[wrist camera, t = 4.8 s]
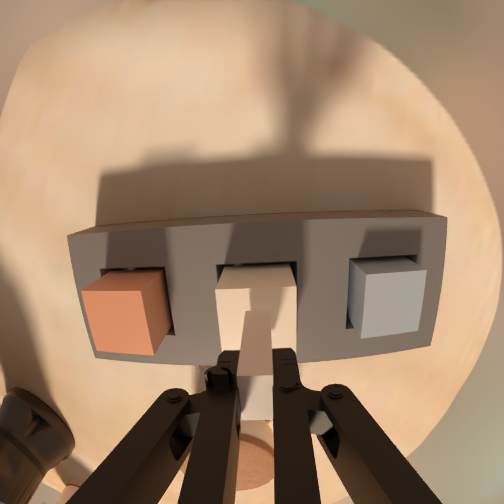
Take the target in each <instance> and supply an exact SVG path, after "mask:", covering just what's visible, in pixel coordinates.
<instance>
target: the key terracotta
mask: <svg viewBox="0 0 504 504" xmlns="http://www.w3.org/2000/svg"><path fill="white" fill-rule="evenodd" d="M81 293H82V297H83V302H84V306H85V310H86V314H87V318H88V322H89V325H90V329H91V333H92V336H93V340H94V343H95V346H96V350H97V351H104V352H114V353H125V354H139V355H155V353H156V351H157V350H158V348H159V346H160V345H161V343H162V341H163V339H164V338H165V336H166V334H167V333H168V331H169V329H170V328H171V326H172V322H171V316H170V310H169V303H168V297H167V291H166V284H165V277H164V269H155V270H122V271H110V272H108V273H107V274H105V275H104V276H102V277H101V278H99V279H98V280H96V281H95V282H93V283H92V284H90V285H89V286H87V287H86V288H84V289H83V290H81Z"/></svg>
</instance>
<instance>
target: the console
mask: <svg viewBox="0 0 504 504" xmlns="http://www.w3.org/2000/svg"><path fill="white" fill-rule="evenodd" d="M446 236H447V217H444V216H440V215H436V214H432V213H428V212H424V211H416V210H400V211H332V212H299V213H274V214H253V215H234V216H217V217H201V218H187V219H173V220H160V221H148V222H136V223H125V224H114V225H104V226H94V227H91V228H88V229H85V230H82V231H79V232H76V233H73V234H71V235H68V236H67V238H68V245H69V251H70V257H71V263H72V268H73V273H74V278H75V283H76V288H77V292H78V297H79V301H80V305H81V309H82V313H83V317H84V321H85V325H86V328H87V332H88V335H89V339H90V342H91V345H92V349H93V352H94V355H95V358H100V359H109V360H118V361H129V362H141V363H155V364H174V365H207V366H216V364H217V360H218V356H219V355H220V354H221V353H222V349H221V340H220V332H219V323H218V313H217V304H216V294H215V288H216V286H217V284H218V281H219V279H220V276H221V274H222V272H223V269H224V267H235V266H258V265H280V264H289V265H290V268H291V271H292V274H293V277H294V280H295V283H296V303H297V318H296V358H297V363H306V362H318V361H329V360H339V359H348V358H357V357H364V356H372V355H379V354H386V353H392V352H398V351H404V350H410V349H415V348H421V347H426V346H430V345H431V341H432V336H433V331H434V327H435V321H436V316H437V311H438V305H439V299H440V292H441V285H442V278H443V269H444V260H445V249H446ZM398 255H403V256H404V257H406V258H408V259H409V260H411V261H413V262H414V263H416V264H418V265H419V266H421V267H423V268H424V269H426V270H427V272H426V281H425V289H424V297H423V304H422V310H421V316H420V322H419V328H418V331H413V332H406V333H400V334H393V335H386V336H378V337H370V338H362V339H361V338H360V337H359V335H358V333H357V332H356V330H355V328H354V326H353V325H352V323H351V321H350V320H349V318H348V316H347V300H348V280H349V258H363V257H381V256H398ZM155 269H164V277H165V284H166V291H167V297H168V303H169V310H170V316H171V322H172V326H171V328H170V329H169V331H168V333H167V334H166V336H165V338H164V339H163V341H162V343H161V345H160V346H159V348H158V350H157V351H156V353H155V355H139V354H125V353H114V352H104V351H97V350H96V346H95V343H94V340H93V336H92V333H91V329H90V325H89V322H88V318H87V314H86V310H85V306H84V302H83V297H82V293H81V290H83V289H84V288H86V287H87V286H89V285H90V284H92V283H93V282H95V281H96V280H98V279H99V278H101V277H102V276H104V275H105V274H107V273H108V272H110V271H122V270H155Z"/></svg>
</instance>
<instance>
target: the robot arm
mask: <svg viewBox="0 0 504 504" xmlns="http://www.w3.org/2000/svg"><path fill="white" fill-rule="evenodd" d="M204 377H205V383H206V388H207V389H206V391H204V392H202V393H198V394H193V395H189V394H188V392H187V391H186V390H183V389H180V388H173V389H169V390H166V391H164V392H163V393H162V394H161V395H160V396H159V397H158V398H157V400H156V401H155V402H154V403H153V404H152V405H151V407H150V408H149V409H148V410H147V411H146V412H145V414H144V415H143V416H142V417H141V418H140V419H139V421H138V422H137V423H136V424H135V425H134V426H133V428H132V429H131V430H130V431H129V432H128V433H127V435H126V436H125V437H124V438H123V439H122V440H121V441H120V443H119V444H118V445H117V446H116V447H115V448H114V449H113V451H112V452H111V453H110V454H109V455H108V456H107V457H106V459H105V460H104V461H103V462H102V463H101V464H100V465H99V466H98V468H97V469H96V470H95V471H94V472H93V473H92V474H91V475H90V477H89V478H88V479H87V480H86V481H85V482H84V483H83V484H82V485H81V487H80V488H79V489H78V490H77V491H76V492H75V493H74V494H73V495H72V497H71V498H70V499H69V500H68V501H67V502H66V503H65V504H158V502H159V501H160V499H161V498H162V496H163V495H164V493H165V492H166V490H167V488H168V487H169V485H170V484H171V482H172V481H173V479H174V477H175V476H176V474H177V473H178V471H179V469H180V468H181V466H182V465H183V463H184V461H185V460H186V458H187V456H188V455H189V453H190V455H189V459H188V463H187V467H186V472H185V476H184V480H183V484H182V488H181V492H180V496H179V500H178V504H234V503H235V492H236V481H237V470H238V459H239V448H240V436H241V422H240V420H273V437H274V498H275V504H321V499H320V492H319V485H318V478H317V471H316V464H315V457H314V451H313V444H312V438H311V433H312V434H316V435H317V438H318V440H319V442H320V444H321V445H322V447H323V449H324V451H325V453H326V455H327V456H328V458H329V460H330V462H331V464H332V465H333V467H334V469H335V471H336V472H337V474H338V476H339V478H340V480H341V481H342V483H343V485H344V487H345V488H346V490H347V492H348V494H349V495H350V497H351V499H352V501H353V502H354V504H442V503H441V501H440V500H439V499H438V498H437V496H436V495H435V494H434V493H433V492H432V491H431V489H430V488H429V487H428V485H427V484H426V483H425V482H424V481H423V479H422V478H421V477H420V476H419V475H418V473H417V472H416V471H415V469H414V468H413V467H412V466H411V465H410V463H409V462H408V461H407V460H406V458H405V457H404V456H403V455H402V453H401V452H400V451H399V450H398V449H397V447H396V446H395V445H394V444H393V442H392V441H391V440H390V439H389V437H388V436H387V435H386V434H385V432H384V431H383V430H382V429H381V427H380V426H379V425H378V424H377V422H376V421H375V420H374V419H373V417H372V416H371V415H370V414H369V412H368V411H367V410H366V409H365V407H364V406H363V405H362V404H361V402H360V401H359V400H358V399H357V397H356V396H355V395H354V394H353V392H352V391H351V390H350V389H349V388H348V387H347V386H344V385H341V384H331V385H328V386H325V387H324V388H323V389H322V390H321V391H314V390H310V389H308V388H306V387H304V386H303V385H302V383H301V381H300V375H299V369H298V364H297V358H296V352H295V351H294V350H293V349H292V348H272V338H271V317H270V310H259V311H245V317H244V325H243V332H242V339H241V347H240V350H224V351H223V352H222V353H221V354H220V355H219V356H218V360H217V364H216V366H214V367H211V368H209V369H208V370H206V372H205V373H204ZM74 447H75V442H74V439H73V436H72V434H71V433H70V431H69V429H68V428H67V426H66V425H65V424H64V423H63V421H62V420H61V419H60V418H59V417H58V416H57V415H56V414H55V412H53V411H52V410H51V409H50V408H49V407H48V406H47V405H46V404H45V403H43V402H42V401H41V400H40V399H38V398H37V397H35V396H34V395H32V394H31V393H29V392H27V391H25V390H22V389H18V388H14V389H12V390H10V391H9V392H8V393H7V394H6V395H5V397H4V398H3V402H2V405H1V407H0V504H28V503H29V501H30V499H31V498H32V496H33V494H34V493H35V491H36V489H37V488H38V486H39V484H40V483H41V481H42V479H43V478H44V476H45V474H46V473H47V472H48V471H49V470H50V469H52V468H53V467H55V466H56V465H57V464H58V463H59V462H61V460H65V459H67V458H68V457H69V456H70V454H71V453H72V451H73V449H74Z"/></svg>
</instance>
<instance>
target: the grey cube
mask: <svg viewBox="0 0 504 504" xmlns="http://www.w3.org/2000/svg"><path fill="white" fill-rule="evenodd" d="M426 272H427V270H426V269H424V268H423V267H421V266H419V265H418V264H416V263H414V262H413V261H411V260H409V259H408V258H406V257H404V256H403V255H398V256H381V257H363V258H349V280H348V300H347V316H348V318H349V320H350V321H351V323H352V325H353V326H354V328H355V330H356V332H357V333H358V335H359V337H360V338H361V339H362V338H370V337H378V336H386V335H393V334H400V333H406V332H413V331H418V328H419V322H420V316H421V310H422V304H423V297H424V289H425V281H426Z"/></svg>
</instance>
